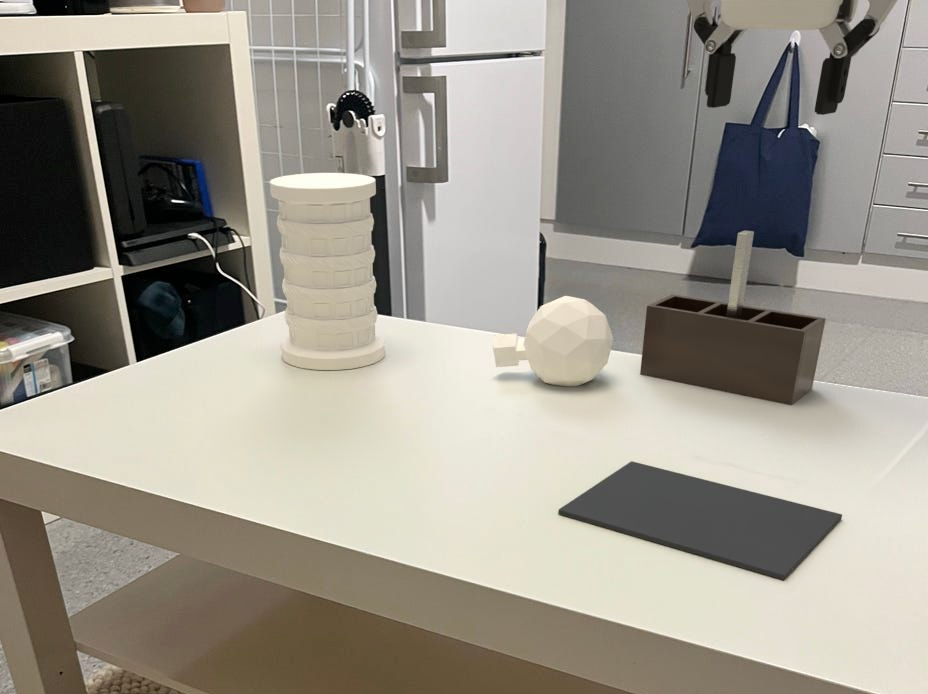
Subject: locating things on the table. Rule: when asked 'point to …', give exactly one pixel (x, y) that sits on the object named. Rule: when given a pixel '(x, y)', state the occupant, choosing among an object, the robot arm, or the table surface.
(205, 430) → the table surface
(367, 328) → the decorative container
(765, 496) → the mat
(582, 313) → the perfume bottle
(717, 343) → the box
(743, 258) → the stepped grey rod
